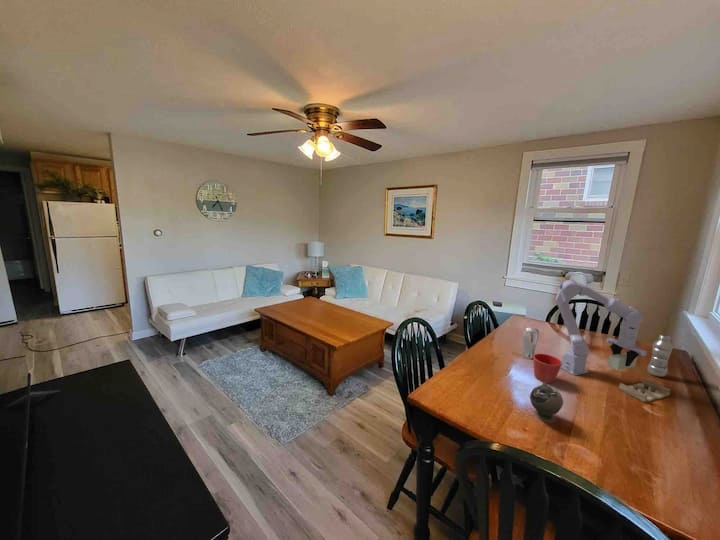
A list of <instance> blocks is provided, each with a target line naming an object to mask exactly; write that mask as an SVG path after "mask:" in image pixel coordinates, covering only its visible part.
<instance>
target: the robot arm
mask: <svg viewBox="0 0 720 540" xmlns="http://www.w3.org/2000/svg"><path fill="white" fill-rule="evenodd" d="M558 287H559V288H558V292H557V294H556V298H555V302H556V305H557V307H558V310H559V312H560V314H561V315H560V316H561V318H562V320H563V322H564V325H565V327H566V330H567V332H568V335H569V338H570V340H569V343H570V345H571V347H569V349H568V351H567V353H564V354H563V356H562V360H561V362H562V365H561V367H560V369H562V370H564V371H566V372H568V373H570V374H572V375H574V376H578V375H583V374H588V373H590V371H589V370H587V369H586V364H587V359H588V354H589V353H590V347H589V346H588V345H587V341H586V339H585V338H583V336H582V334H581V332H580V329H579V326H578V324H577V321H576V318H575V316H574V313H573V311H572V308H571V307H570V304H569V302H570V301H571V300H572V299H574V298H575V297H577V295H579V296H580V297H583V296H585V297H586V296H587V298H588V297H589V298H591V299H592V300H594V301H597V302H598V303H600V304H603V306H604V309H606V310H607V311H609V312H611V313H612V314H615V315H616V316H618V317H620V318H622V322H621V325H620V326H621V327H620V329H619V334H618V339H615V338H612V337H606V340H605V343H608V344H611V345H610V346H609V347H610V350H611V353H612V355H616V354H622V350H623V349H625V350H627V351H626V352H625V353H626V354H627V359H626V364H625V366H630V365H631V363H632V362H633V360H634V359H635V358H636V357H637V358H638V357H639V356H642V357H647V353H648V351H647V350H645V349H642V348H640V347H639V346H636V342H637V338H638V333H639V330H640V329H639V328H640V324H641V323H642V322H643V321H644V318H643V317H644V316H643V314H642V313H641V312H639V310H637V309H636V308H635V307H633V306H632V305H627V304H626V303H624V302H622V300H621V299H619V298H613V297H612V298H608V297H606V296H604V295H603V294H601V293H599V292H597V291H595V290H594V289H592V288H591V287H589V286H587V285H585V284H582V283H580V282H577V281H575V280H574V279H566V280H564V281H562V283H561V284H560V285H559V286H558Z"/></svg>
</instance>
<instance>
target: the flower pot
mask: <svg viewBox="0 0 720 540" xmlns="http://www.w3.org/2000/svg"><path fill="white" fill-rule="evenodd" d="M532 360H533V373H534V378H535V379H536V380H537V381H539V382H542V383H544V382H545V381H546V383H547V384H553V383H554V382H555V381H556V378H557V376H558V374H559V371H561V370H560V369H561V368H560V367H561V365H562V360H560V359H559V358H557V357H556V356H553V355H550V354H548V353H547V354H546V353H534V356H533V359H532Z"/></svg>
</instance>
